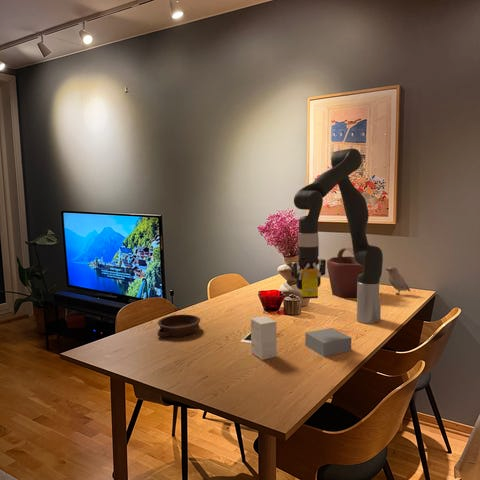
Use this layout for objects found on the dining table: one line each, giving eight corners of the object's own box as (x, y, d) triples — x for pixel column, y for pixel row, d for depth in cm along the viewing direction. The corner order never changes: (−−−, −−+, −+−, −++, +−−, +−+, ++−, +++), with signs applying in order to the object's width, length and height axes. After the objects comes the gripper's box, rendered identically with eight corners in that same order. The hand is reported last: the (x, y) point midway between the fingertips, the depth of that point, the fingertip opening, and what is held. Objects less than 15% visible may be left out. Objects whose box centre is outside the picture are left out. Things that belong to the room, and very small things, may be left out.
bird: (383, 293, 245) (384, 265, 243) (409, 293, 243) (410, 265, 241) (385, 295, 240) (385, 267, 238) (411, 296, 238) (412, 267, 236)
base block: (331, 340, 177) (331, 327, 176) (351, 350, 166) (351, 337, 166) (305, 345, 172) (305, 332, 172) (323, 356, 162) (323, 343, 161)
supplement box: (299, 294, 175) (299, 266, 174) (314, 294, 176) (314, 266, 174) (302, 298, 170) (302, 270, 168) (318, 298, 170) (318, 269, 168)
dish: (212, 328, 195) (212, 316, 194) (177, 344, 177) (176, 331, 176) (181, 321, 205) (181, 310, 204) (145, 335, 187) (144, 324, 186)
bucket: (375, 300, 231) (376, 251, 227) (331, 301, 231) (331, 252, 228) (362, 288, 255) (363, 244, 252) (323, 289, 255) (323, 245, 252)
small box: (277, 357, 162) (276, 321, 160) (261, 360, 159) (261, 324, 157) (266, 349, 169) (265, 315, 167) (250, 352, 167) (250, 318, 165)
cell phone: (240, 342, 177) (240, 341, 177) (254, 329, 192) (254, 328, 192) (259, 345, 174) (259, 343, 174) (272, 332, 189) (272, 330, 189)
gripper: (319, 241, 176) (319, 283, 178) (286, 244, 170) (286, 287, 173) (330, 244, 169) (330, 287, 171) (296, 247, 164) (296, 292, 166)
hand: (308, 287), depth 172 cm, fingers closed on supplement box, 7 cm apart
